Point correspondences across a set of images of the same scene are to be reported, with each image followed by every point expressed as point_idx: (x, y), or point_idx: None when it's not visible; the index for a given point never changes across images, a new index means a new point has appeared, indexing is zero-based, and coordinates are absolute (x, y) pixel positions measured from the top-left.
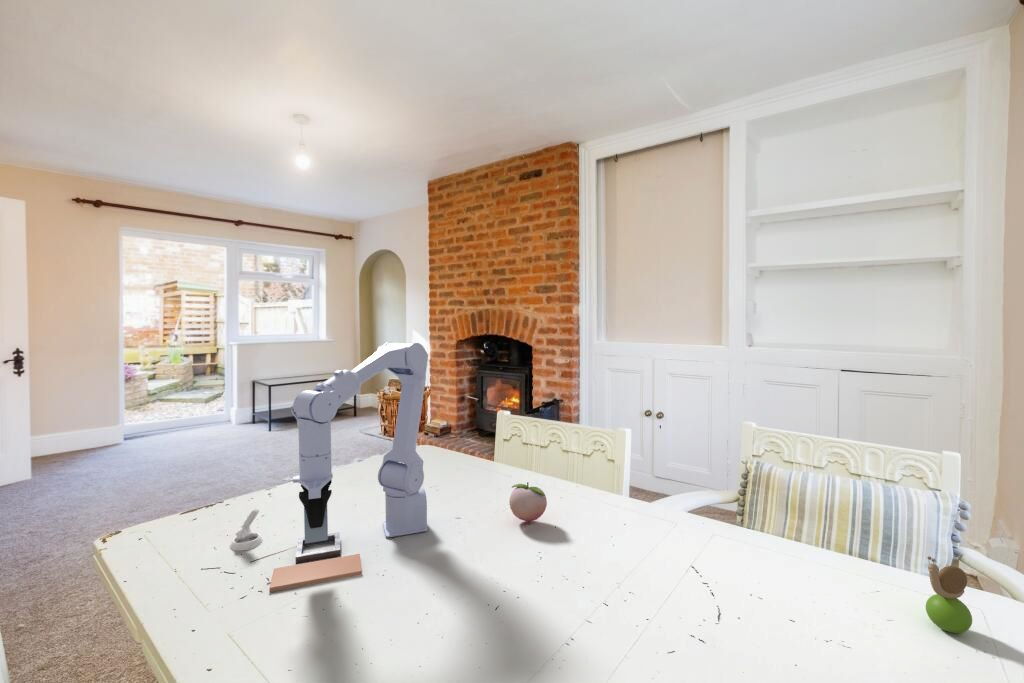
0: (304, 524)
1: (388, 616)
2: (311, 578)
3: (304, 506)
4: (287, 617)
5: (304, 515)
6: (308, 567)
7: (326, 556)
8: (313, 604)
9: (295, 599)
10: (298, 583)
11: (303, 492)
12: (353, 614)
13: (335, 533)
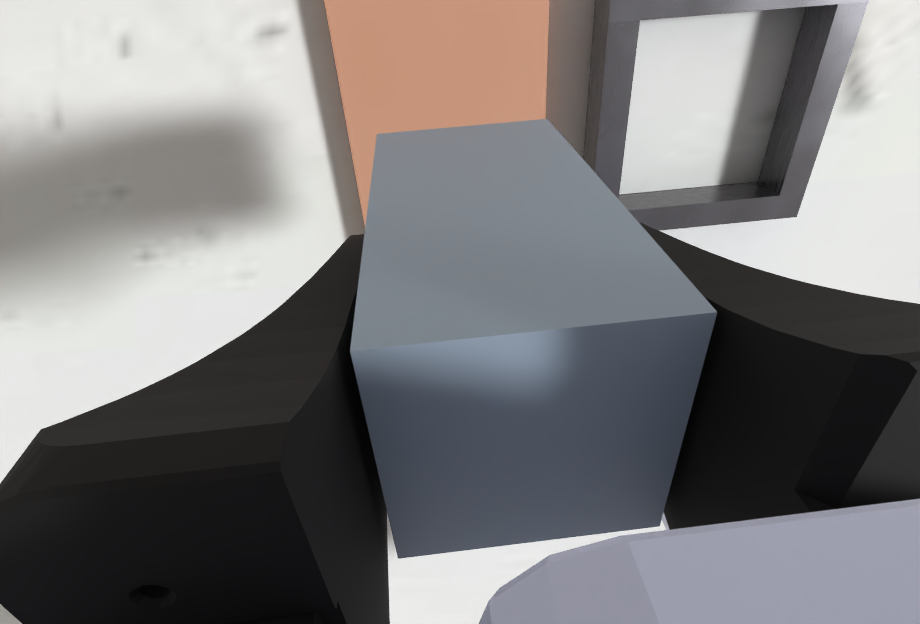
0: (370, 195)
1: (82, 404)
2: (361, 113)
3: (192, 367)
4: (35, 22)
5: (363, 242)
6: (489, 80)
7: (586, 162)
8: (158, 142)
9: (207, 41)
10: (333, 42)
11: (212, 544)
12: (86, 305)
13: (796, 197)
